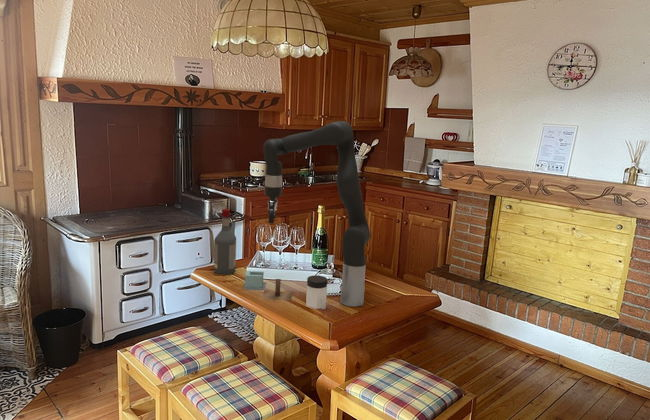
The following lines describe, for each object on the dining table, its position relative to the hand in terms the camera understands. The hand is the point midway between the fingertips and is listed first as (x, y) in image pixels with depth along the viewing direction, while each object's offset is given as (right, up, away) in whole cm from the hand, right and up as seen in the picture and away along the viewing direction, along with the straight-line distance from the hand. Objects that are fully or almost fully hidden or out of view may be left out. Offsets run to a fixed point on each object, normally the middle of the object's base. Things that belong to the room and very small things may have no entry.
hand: (272, 221), depth 217 cm
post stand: (+4, -32, -12) cm, 34 cm away
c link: (-7, -28, -4) cm, 29 cm away
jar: (+20, -34, -19) cm, 44 cm away
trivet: (-7, -29, -3) cm, 30 cm away
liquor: (-24, -24, +14) cm, 37 cm away
